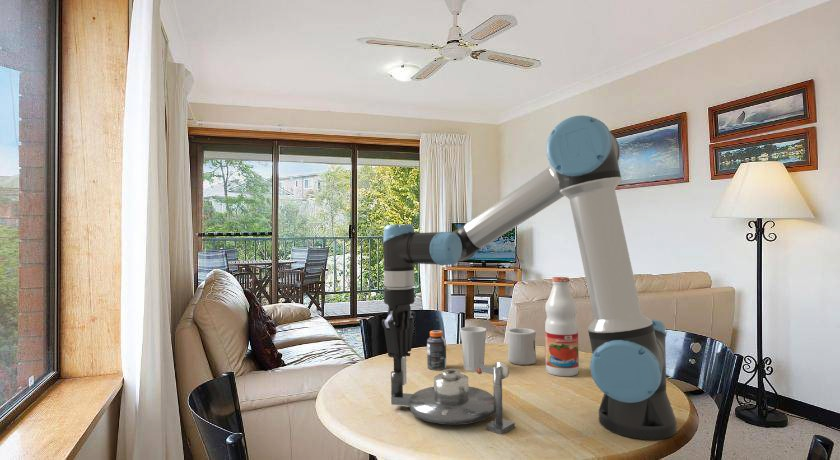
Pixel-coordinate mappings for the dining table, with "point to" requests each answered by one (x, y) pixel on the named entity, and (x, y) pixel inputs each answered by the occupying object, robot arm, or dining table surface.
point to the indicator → (498, 397)
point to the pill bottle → (436, 350)
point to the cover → (451, 388)
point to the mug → (522, 346)
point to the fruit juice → (561, 330)
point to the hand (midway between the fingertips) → (400, 383)
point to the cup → (473, 347)
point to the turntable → (431, 411)
